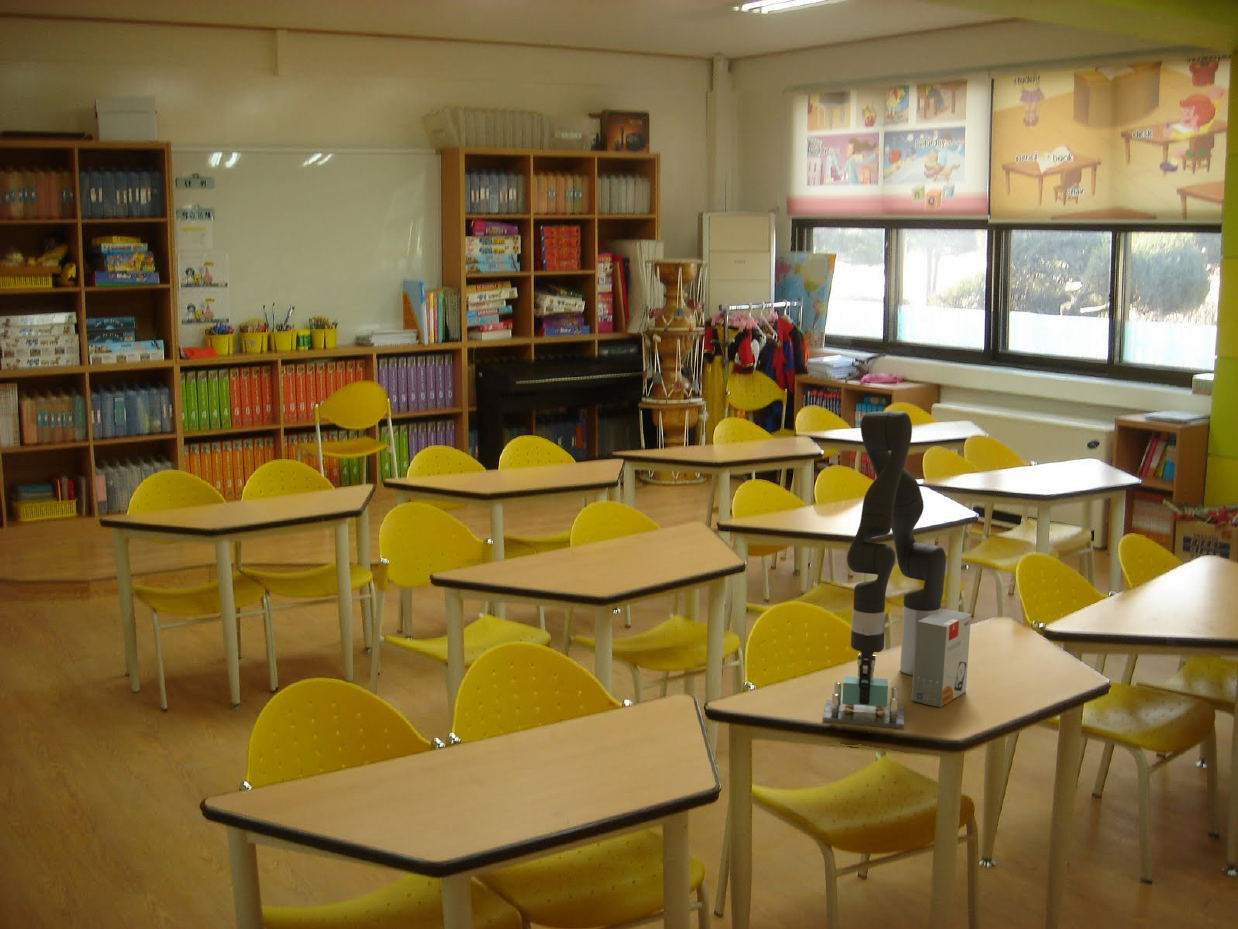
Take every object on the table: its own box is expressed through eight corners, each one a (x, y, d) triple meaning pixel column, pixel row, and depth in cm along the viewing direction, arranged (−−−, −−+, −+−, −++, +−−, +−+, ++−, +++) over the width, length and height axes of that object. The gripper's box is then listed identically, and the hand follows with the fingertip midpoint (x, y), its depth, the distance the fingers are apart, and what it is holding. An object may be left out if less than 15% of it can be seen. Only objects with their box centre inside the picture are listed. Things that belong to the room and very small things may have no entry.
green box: (842, 696, 304) (843, 675, 303) (886, 699, 302) (887, 679, 301) (842, 703, 299) (843, 682, 298) (886, 707, 297) (887, 686, 297)
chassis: (826, 703, 309) (827, 679, 308) (904, 710, 305) (905, 686, 304) (823, 721, 298) (824, 696, 297) (903, 729, 294) (905, 703, 293)
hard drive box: (941, 709, 306) (945, 627, 303) (910, 702, 311) (914, 621, 308) (967, 691, 319) (971, 612, 315) (937, 685, 323) (941, 607, 320)
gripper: (853, 618, 306) (850, 688, 308) (849, 636, 292) (846, 708, 295) (885, 621, 304) (882, 691, 307) (883, 638, 290) (880, 711, 293)
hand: (864, 699), depth 301 cm, fingers closed on green box, 5 cm apart
